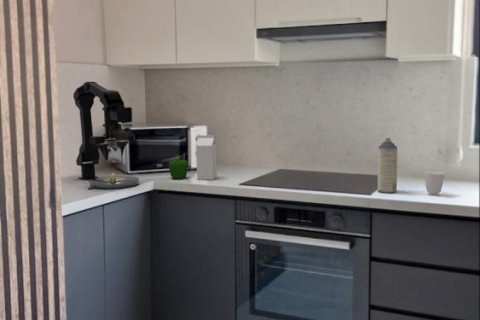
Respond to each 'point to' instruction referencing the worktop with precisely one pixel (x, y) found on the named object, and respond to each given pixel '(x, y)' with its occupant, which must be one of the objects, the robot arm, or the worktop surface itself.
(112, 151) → the cover
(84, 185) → the worktop surface
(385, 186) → the aerosol can
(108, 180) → the turntable
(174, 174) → the bell pepper
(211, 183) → the worktop surface
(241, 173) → the worktop surface
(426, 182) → the cup
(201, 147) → the milk carton
